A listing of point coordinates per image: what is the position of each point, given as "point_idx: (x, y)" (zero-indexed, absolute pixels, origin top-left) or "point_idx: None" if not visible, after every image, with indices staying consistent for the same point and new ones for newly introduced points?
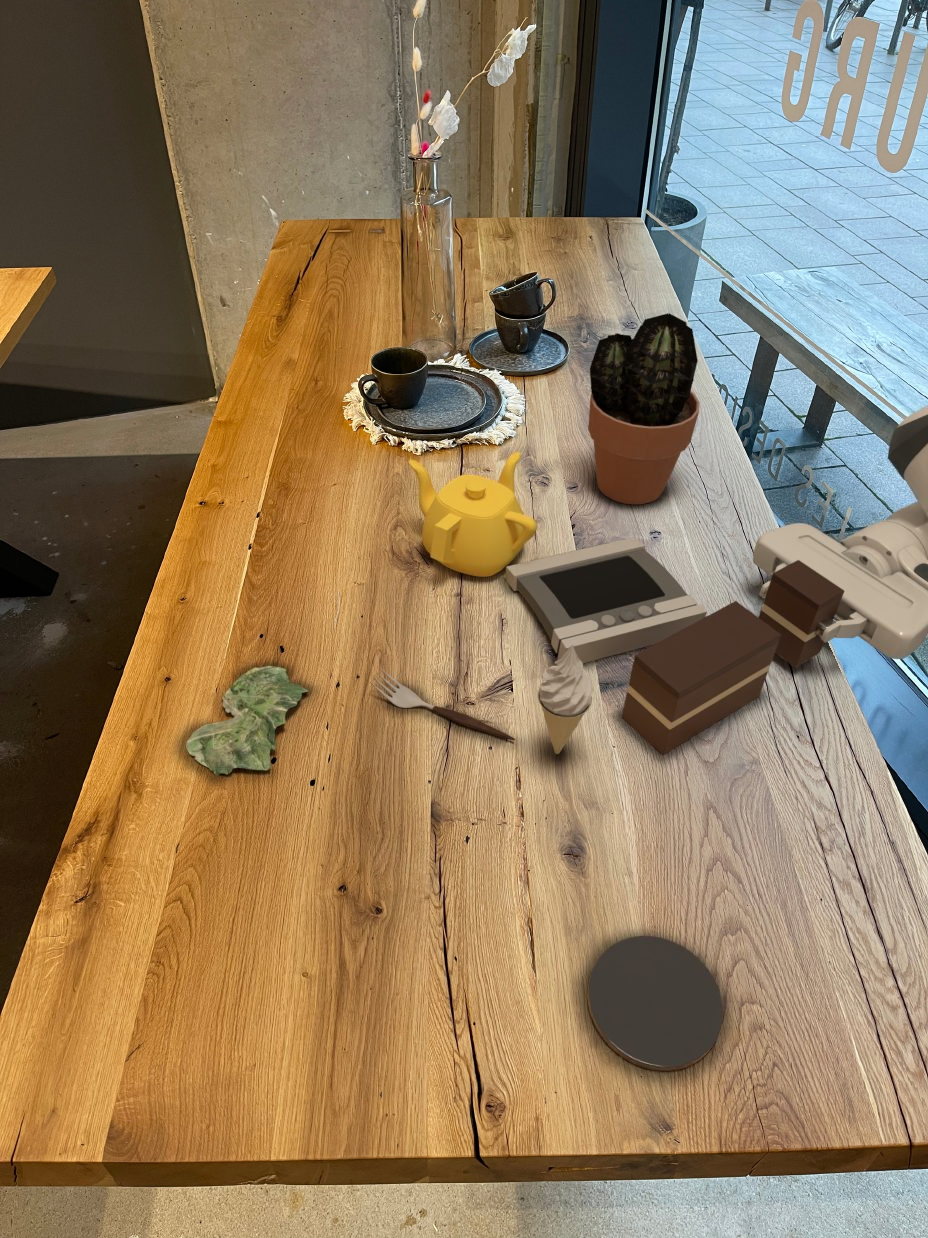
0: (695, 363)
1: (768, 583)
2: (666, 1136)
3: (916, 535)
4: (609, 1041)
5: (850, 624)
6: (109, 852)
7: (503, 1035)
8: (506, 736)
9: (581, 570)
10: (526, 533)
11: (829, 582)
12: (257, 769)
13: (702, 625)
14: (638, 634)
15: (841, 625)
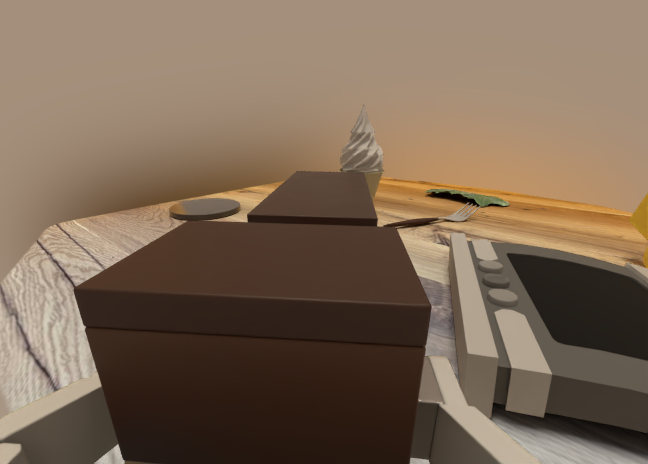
0: None
1: (441, 365)
2: (179, 201)
3: None
4: (216, 198)
5: (30, 403)
6: (410, 182)
7: (255, 196)
8: (388, 224)
9: None
10: None
11: (177, 283)
12: (426, 191)
13: (357, 191)
14: (455, 284)
15: (82, 379)
